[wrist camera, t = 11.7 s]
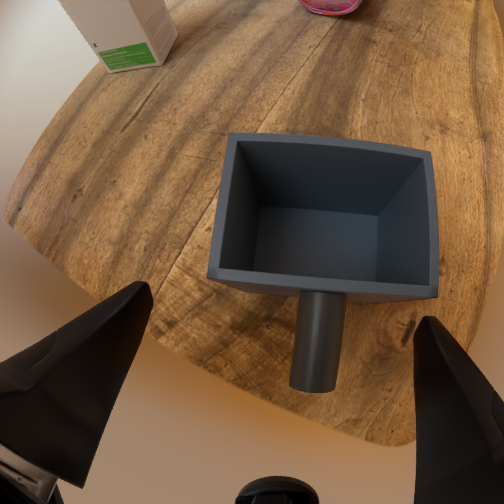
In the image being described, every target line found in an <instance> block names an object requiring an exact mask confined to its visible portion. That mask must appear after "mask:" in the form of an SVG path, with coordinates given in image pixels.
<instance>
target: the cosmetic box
mask: <svg viewBox="0 0 504 504" xmlns="http://www.w3.org/2000/svg"><path fill="white" fill-rule="evenodd" d="M58 1H59V2H60V4H61V5H62V7H63V8H64V10H65V11H66V13H67V14H68V15H69V17H70V18H71V20H72V21H73V22H74V24H75V25H76V27H77V28H78V30H79V31H80V32H81V34H82V35H83V37H84V38H85V39H86V41H87V42H88V44H89V45H90V46H91V48H92V49H93V51H94V52H95V54H96V55H97V56H98V58H99V59H100V61H101V62H102V63H103V65H104V66H105V68H106V69H107V70H108V72H109V73H115V72H120V71H127V70H132V69H139V68H146V67H153V66H162V65H163V63H164V61H165V59H166V57H167V55H168V53H169V51H170V49H171V48H172V46H173V44H174V42H175V40H176V38H177V37H178V34H177V31H176V29H175V26H174V24H173V21H172V19H171V16H170V14H169V11H168V9H167V7H166V4H165V2H164V0H58Z"/></svg>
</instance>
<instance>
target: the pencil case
mask: <svg viewBox="0 0 504 504" xmlns="http://www.w3.org/2000/svg"><path fill="white" fill-rule="evenodd" d="M298 1H299V2H300V3H301V4H302V5H303V6H305V7H306V8H307V9H309V10H310V11H312V12H314V13H318V14H323V15H343V14H347V13H350V12H352V11H354V10H355V9H356V8H357V7H358V6H359V5H360V3H361V1H362V0H298Z"/></svg>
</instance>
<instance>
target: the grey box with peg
mask: <svg viewBox="0 0 504 504" xmlns="http://www.w3.org/2000/svg"><path fill="white" fill-rule="evenodd" d="M207 278H208V279H210V280H213V281H216V282H219V283H221V284H224V285H227V286H230V287H233V288H236V289H239V290H242V291H245V292H251V293H261V294H270V295H280V296H291V297H299V306H298V315H297V324H296V333H295V341H294V349H293V357H292V365H291V372H290V379H289V386H290V387H292V388H293V389H296V390H299V391H303V392H309V393H327V392H331V391H333V390H334V389H335V386H336V380H337V373H338V366H339V359H340V352H341V344H342V336H343V328H344V318H345V309H346V301H351V302H365V303H388V302H399V301H410V300H420V299H430V298H437V297H438V284H439V233H438V213H437V200H436V189H435V180H434V172H433V164H432V158H431V152H429V151H424V150H419V149H413V148H408V147H402V146H396V145H390V144H383V143H376V142H369V141H362V140H353V139H344V138H335V137H324V136H312V135H297V134H278V133H229V136H228V142H227V147H226V153H225V159H224V165H223V171H222V177H221V183H220V189H219V195H218V202H217V208H216V215H215V222H214V229H213V236H212V243H211V250H210V257H209V265H208V272H207Z"/></svg>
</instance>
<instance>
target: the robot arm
mask: <svg viewBox="0 0 504 504" xmlns="http://www.w3.org/2000/svg"><path fill="white" fill-rule="evenodd" d="M152 308H153V297H152V293H151V290H150V286H149V284H148V283H147V282H143V281H135V282H133V283H131V284H130V285H128V286H127V287H125V288H123V289H122V290H120V291H118V292H117V293H115V294H113V295H112V296H110V297H109V298H107V299H105V300H104V301H102V302H101V303H99V304H97V305H96V306H94V307H92V308H91V309H90V310H88V311H86V312H85V313H83V314H81V315H80V316H78V317H77V318H75V319H73V320H72V321H71V322H69V323H67V324H65V325H64V326H62V327H61V328H59V329H58V330H57V331H55V332H53V333H52V334H50V335H49V336H47V337H45V338H44V339H42V340H41V341H39V342H37V343H35V344H34V345H32V346H30V347H28V348H27V349H25V350H23V351H21V352H20V353H18V354H16V355H14V356H12V357H10V358H8V359H7V360H5V361H3V362H1V363H0V504H64V502H63V500H62V497H61V494H60V492H59V489H58V486H57V484H56V483H57V480H58V478H60V479H62V480H64V481H66V482H68V483H70V484H72V485H74V486H77V487H79V488H81V489H82V488H83V487H84V485H85V481H86V479H87V476H88V473H89V470H90V467H91V464H92V461H93V459H94V456H95V453H96V450H97V448H98V445H99V442H100V439H101V437H102V434H103V432H104V429H105V426H106V424H107V421H108V419H109V416H110V413H111V411H112V409H113V406H114V404H115V401H116V399H117V397H118V394H119V392H120V389H121V387H122V385H123V382H124V380H125V378H126V375H127V373H128V371H129V368H130V366H131V364H132V362H133V359H134V357H135V355H136V353H137V350H138V348H139V346H140V343H141V340H142V337H143V335H144V332H145V329H146V326H147V323H148V320H149V317H150V314H151V311H152ZM413 350H414V372H413V376H414V394H415V411H416V448H417V449H416V481H415V494H414V504H504V402H503V400H502V399H501V398H500V396H499V395H498V393H497V392H496V391H494V388H493V387H492V386H491V384H490V383H489V381H488V380H487V379H486V377H485V376H484V375H483V373H482V372H481V371H480V370H479V368H478V367H477V366H476V364H475V363H474V362H473V361H472V359H471V358H470V357H469V356H468V354H467V353H466V352H465V351H464V349H463V348H462V347H461V346H460V345H459V343H458V342H457V341H456V340H455V339H454V337H453V336H452V335H451V334H450V333H449V331H448V330H447V329H446V328H445V327H444V326H443V325H442V323H441V322H440V321H439V320H438V319H437V318H436V317H435V316H424V317H423V318H422V319H421V321H420V323H419V325H418V327H417V329H416V331H415V333H414V337H413ZM302 496H306V497H302ZM239 500H242V501H239ZM235 504H310V495H309V493H308V492H296V493H286V494H270V495H254V496H238V497H237V498H236V499H235Z"/></svg>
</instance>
